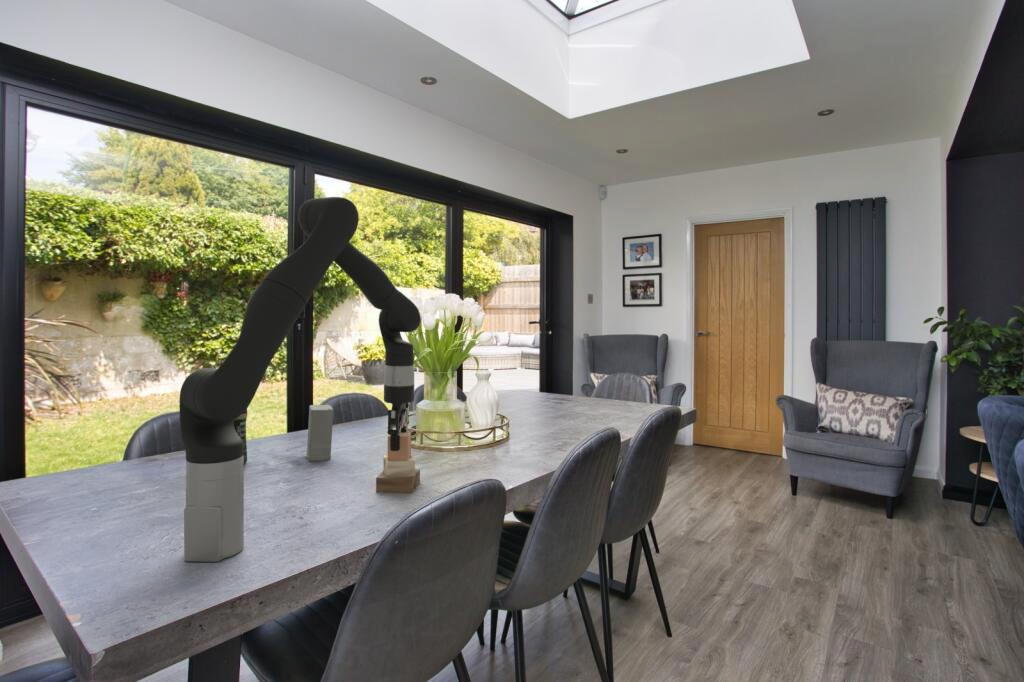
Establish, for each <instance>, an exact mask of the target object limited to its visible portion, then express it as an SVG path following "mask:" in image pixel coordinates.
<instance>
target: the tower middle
mask: <svg viewBox="0 0 1024 682" xmlns="http://www.w3.org/2000/svg"><path fill="white" fill-rule="evenodd" d="M387 457H388V454H387V455H386V454H385V455H383V457H382V458H383V459H382V460H383V462H382V466H383V468H382V469H383V470H382V472H383V471H384V474H385V476H386V478H397V477H410V476H415V469H416V459H415V458H414V457H413V455H412V454H411V456H410V458H409V459H408V460H387Z"/></svg>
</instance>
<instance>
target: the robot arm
mask: <svg viewBox="0 0 1024 682" xmlns="http://www.w3.org/2000/svg"><path fill="white" fill-rule="evenodd" d="M359 218H360V216H359V211H358V208H357V206H356V205H355V203H354V202H353V201H351V200H350V199H348V198H346V197H341V196H328V197H317V198H316V197H315V198H311V199H308V200H305V201H304V202H303V203H302V204H301V206H300V208H299V211H298V223H299V226H300V228H301V230H302V231H303V233H304V234H305V235H306V236H307V238H306V240H305V241H304V242H303V243H302V244H301V246H299V247H298V248H297V249H296V250H294V251H293V252H292V253H290V254H289V255H288V256H286V257H284V259H282V260H281V261H279V263H277V264H276V265H274V267H272V268H271V269H270V270H269V271H268V272H267V273H266V274H265V276H264V277H263V278H262V280H261V281H260V282H259V284H258V285H257V287H256V288H255V290H254V291H253V293H252V294H251V296H250V297H249V299H248V301H247V304H246V306H245V310H244V314H243V320H242V324H241V330H240V333H239V336H238V339H237V341H236V343H235V344H234V346H233V348H232V349H231V350H230V352H229V354H228V355H227V356H226V357H225V359H224V360H223V361H222V363H221V364H220V365H219V366H218V367H217V368H213V367H205V368H199V369H197V370H195V371H193V372H191V373H190V374H189V375H188V376H187V377H186V378H185V379H184V381H183V383H182V385H181V387H180V391H179V399H178V401H179V404H178V405H179V425H180V439H181V442H182V444H181V445H182V446H183V449H184V452H185V507H184V509H183V533H184V534H183V540H184V541H183V543H184V544H183V546H184V547H183V548H184V549H183V550H184V551H183V552H184V553H183V555H184V557H183V561H184V562H207V563H208V562H212V563H215V562H217V563H218V562H221V561H222V560H224V559H227V558H229V557H232V556H235V555H237V554H238V553H240V552H242V551H243V549H244V545H245V542H244V541H245V539H244V538H245V537H244V536H245V535H244V533H245V531H244V530H245V528H244V527H245V525H244V524H245V523H244V522H245V521H244V520H245V518H244V517H245V516H244V515H245V513H244V511H245V510H244V509H245V508H244V507H245V505H244V504H245V502H244V500H245V499H244V494H245V492H244V491H245V490H244V486H245V485H244V484H245V481H244V480H245V479H244V475H245V474H244V473H245V469H244V468H245V466H244V465H245V464H244V444H243V441H242V439H241V438H240V437H239V435H238V434H237V432H236V430H235V428H234V425H233V420H234V419H236V418H238V417H239V416H240V415H242V414H243V413H244V412H245V410H246V409H247V410H248V408H249V406H250V405H251V402H252V401H253V400H254V397H255V395H256V393H257V391H258V389H259V387H260V385H261V382H262V380H263V378H264V376H265V374H266V371H267V369H268V368H269V366H270V364H271V362H272V360H273V359H274V357H275V356H276V354H277V352H278V351H279V349H280V347H281V345H282V344H283V342H284V340H285V339H286V338H287V336H288V334H289V332H290V331H291V329H292V327H293V326H294V324H295V323H296V322H297V320H298V319H299V317H300V315H301V314H302V312H303V311H304V309H305V307H306V306H307V304H308V303H309V300H310V298H311V296H312V295H313V293H314V291H315V290H316V289H317V287H318V286H319V284H320V282H321V281H322V279H323V278H324V276H325V275H326V273H327V271H328V270H329V269H330V267H331V265H332V264H333V263H334V262H335V264H336V265H337V266H338V267H339V268H340V269H341V270H342V271H343V272H344V273H345V274H346V275H347V276H348V277H349V278H350V279H351V281H353V283H354V284H355V285H356V286H357V288H358V289H359V290H360V291H361V293H362V294H363V295H364V297H365V298H366V299H367V300H368V302H369V304H371V305H372V306H373V308H375V309H377V310H380V311H379V314H378V325H379V327H378V328H379V330H380V334H381V339H382V343H383V345H384V346H383V347H384V351H385V354H384V356H385V357H384V373H383V401H384V403H387V404H391V405H392V406H391V409H388V410H387V436H388V435H390V450H391V451H399V450H400V434H401V433H408V432H407V429H408V427H409V425H410V421H409V419H410V417H409V416H410V415H409V414H410V412H409V411H410V410H409V409H410V403H413V402H414V400H415V369H414V352H415V350H414V346H413V344H412V343H411V342H409V341H406V340H404V339H403V337H402V334H401V333H412V332H415V331H416V330H418V329H419V327H420V326H421V321H422V319H421V313H420V310H419V308H418V307H417V305H416V304H415V303H414V302H413V301H412V300H411V299H409V297H407V296H406V295H405V294H404V293H403V292H402V291H400V290H398V289H397V288H396V287H395V285H394V284H393V281H392V280H391V279H390V278H389V277H388V275H387V273H386V272H385V271H384V270H383V268H381V266H379V264H377V263H376V262H374V260H372V259H371V258H369V257H368V256H367V255H366V254H364V253H363V252H362V251H361V250H359V248H357V247H356V246H355V245H354V244H353V243H352V242H350V241H351V240H352V239H353V237H354V236H355V234H356V231H357V229H358V226H359V220H360V219H359ZM400 432H401V433H400Z"/></svg>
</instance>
